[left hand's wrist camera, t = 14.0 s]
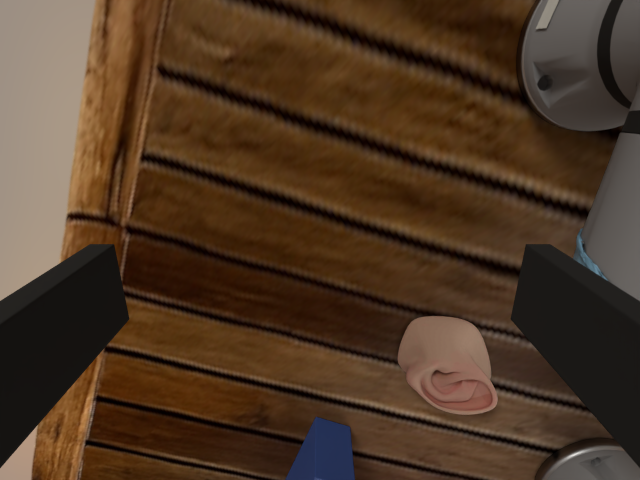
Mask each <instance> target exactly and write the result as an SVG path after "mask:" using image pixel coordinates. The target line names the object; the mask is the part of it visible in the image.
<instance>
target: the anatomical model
mask: <svg viewBox="0 0 640 480" xmlns="http://www.w3.org/2000/svg"><path fill="white" fill-rule="evenodd" d="M398 363H399V365H400V367H401V368H402V369H403V370H404V372H405V373H406V380H407V382H408V384H409V385H410V386H411V387H412V388H413V389H414V390H415V391H416V392H417V393H418V394H419V395H420V396H421V397H422V398H423V399H425V400H426V401H427V402H428V403H429V404H431V405H432V406H434V407H435V408H437V409H440V410H442V411H445V412H449V413H454V414H461V415H471V414H479V413H484V412H487V411H490V410H492V409H493V408H494V407H495V406H496V405H497V402H498V397H497V393H496V390H495V388H494V386H493V384H492V382H491V381H490V378H491V366H490V360H489V356H488V352H487V349H486V345H485V343H484V340H483V338H482V336H481V334H480V332H479V330H478V329H477V328H476V327H475V326H474V325H473V324H471V323H470V322H468V321H465V320H462V319H458V318H453V317H444V316H426V317H420V318H417V319H415V320H413V321H412V322H411V323H410V324H409V326H408V327H407V329H406V331H405V333H404V336H403V338H402V341H401V344H400V347H399V352H398Z"/></svg>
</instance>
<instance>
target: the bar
mask: <svg viewBox="0 0 640 480" xmlns="http://www.w3.org/2000/svg"><path fill="white" fill-rule="evenodd" d="M285 480H355V476H354V465H353V454H352V443H351V432H350V427H349V426H345V425H342V424H339V423H335V422H332V421H328V420H325V419H322V418H318V417H316V418H315V420H314V422H313V424H312V426H311V428H310V430H309V432H308V434H307V436H306V438H305V440H304V442H303V444H302V446H301V449H300V451H299V453H298V455H297V457H296V459H295V461H294V463H293V465H292V467H291V469H290V471H289V473H288V475H287V477H286V479H285Z"/></svg>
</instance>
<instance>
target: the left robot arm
mask: <svg viewBox="0 0 640 480" xmlns="http://www.w3.org/2000/svg"><path fill="white" fill-rule="evenodd" d="M517 75H518V80H519V84H520V88H521V91H522V93H523V95H524V97H525V99H526V101H527V103H528V104H529V106H530V107H531V108H532V109H533V110H534V112H535V113H536V114H537V115H539V116H540V117H541V118H542V119H544V120H545V121H547V122H548V123H550V124H552V125H555V126H557V127H560V128H564V129H570V130H578V131H598V130H606V129H611V128H616V127H619V126H622V125H624V126H623V128H622V131H621V132H622V133H620V134H619V137H618V140H617V142H616V145H615V147H614V150H613V153H612V155H611V158H610V160H609V163H608V166H607V168H606V171H605V173H604V176H603V179H602V181H601V184H600V187H599V189H598V192H597V194H596V197H595V200H594V202H593V205H592V207H591V210H590V212H589V215H588V217H587V220H586V222H585V225H584V227H583V228H582V229H581V230H580V231H579V233H578V236H577V240H576V243H577V247H576V250H575V253H574V257H573V259H572V258H571V257H569V256H568V255H566V254H564V253H563V252H561V251H560V250H558V249H557V248H555V247H553V246H552V245H550V244H526V247H525V252H524V257H523V261H522V266H521V271H520V276H519V281H518V286H517V291H516V296H515V300H514V305H513V310H512V315H511V320H512V321H513V322H514V323H515V325H516V326H517V327H518V328H519V329H520V330H521V332H522V333H523V334H524V335H525V336H526V337H527V339H528V340H529V341H530V342H531V343H532V344H533V345H534V347H535V348H536V349H537V350H538V351H539V352H540V354H541V355H542V356H543V357H544V358H545V359H546V360H547V362H548V363H549V364H550V365H551V366H552V367H553V369H554V370H555V371H556V372H557V373H558V374H559V375H560V377H561V378H562V379H563V380H564V381H565V382H566V384H567V385H568V386H569V387H570V388H571V389H572V390H573V392H574V393H575V394H576V395H577V396H578V397H579V399H580V400H581V401H582V402H583V403H584V404H585V405H586V407H587V408H588V409H589V410H590V411H591V412H592V414H593V415H594V416H595V417H596V418H597V419H598V420H599V422H600V423H601V424H602V425H603V426H604V427H605V429H606V430H607V431H608V432H609V433H610V434H611V435H612V437H613V438H614V439H615V440H616V441H617V442H618V444H619V445H620V446H621V447H622V448H623V449H624V450H625V452H626V453H627V454H628V455H629V456H630V457H631V459H632V460H633V461H634V462H635V463H636V464H637V465H638V467H639V468H640V0H536V1H535V3H534V4H533V6H532V8H531V10H530V12H529V14H528V16H527V18H526V20H525V22H524V25H523V28H522V31H521V35H520V38H519V43H518V48H517ZM128 320H129V315H128V310H127V305H126V300H125V296H124V291H123V286H122V281H121V276H120V271H119V266H118V261H117V257H116V252H115V247H114V244H90V245H88V246H87V247H85V248H83V249H82V250H80V251H79V252H77V253H76V254H74V255H72V256H71V257H69V258H68V259H66V260H64V261H63V262H61V263H60V264H58V265H57V266H55V267H53V268H52V269H50V270H49V271H47V272H46V273H44V274H42V275H41V276H39V277H38V278H36V279H34V280H33V281H31V282H30V283H28V284H27V285H25V286H23V287H22V288H20V289H19V290H17V291H15V292H14V293H12V294H11V295H9V296H8V297H6V298H4V299H3V300H1V301H0V468H1V467H2V465H3V464H4V463H5V462H6V461H7V460H8V459H9V457H10V456H11V455H12V454H13V453H14V452H15V450H16V449H17V448H18V447H19V446H20V445H21V444H22V442H23V441H24V440H25V439H26V438H27V437H28V435H29V434H30V433H31V432H32V431H33V430H34V429H35V427H36V426H37V425H38V424H39V423H40V422H41V420H42V419H43V418H44V417H45V416H46V415H47V414H48V412H49V411H50V410H51V409H52V408H53V407H54V405H55V404H56V403H57V402H58V401H59V400H60V399H61V397H62V396H63V395H64V394H65V393H66V392H67V390H68V389H69V388H70V387H71V386H72V385H73V384H74V382H75V381H76V380H77V379H78V378H79V377H80V375H81V374H82V373H83V372H84V371H85V370H86V369H87V367H88V366H89V365H90V364H91V363H92V362H93V360H94V359H95V358H96V357H97V356H98V355H99V354H100V352H101V351H102V350H103V349H104V348H105V347H106V345H107V344H108V343H109V342H110V341H111V340H112V339H113V337H114V336H115V335H116V334H117V333H118V332H119V330H120V329H121V328H122V327H123V326H124V325H125V323H126V322H127V321H128Z"/></svg>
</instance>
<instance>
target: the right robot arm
mask: <svg viewBox="0 0 640 480" xmlns="http://www.w3.org/2000/svg"><path fill="white" fill-rule="evenodd" d="M535 480H640V468H639V467H638V465H637V464H636V463H635V462H634V461H633V460H632V459H631V457H630V456H629V455H628V454H627V453H626V452H625V450H624V449H623V448H622V447H621V446H620V445H619V444H618V442H617V441H616V440H612V439H602V438H599V439H588V440H583V441H579V442H576V443H573V444H570V445H568V446H566V447H564V448H562V449H560V450H558V451H557V452H555V453H554V454H553V455H551V456H550V457H549V458H548V459H547V460H546V461H545V462H544V463H543V464H542V466H541V467H540V468H539V470H538V472H537V474H536V477H535Z"/></svg>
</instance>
